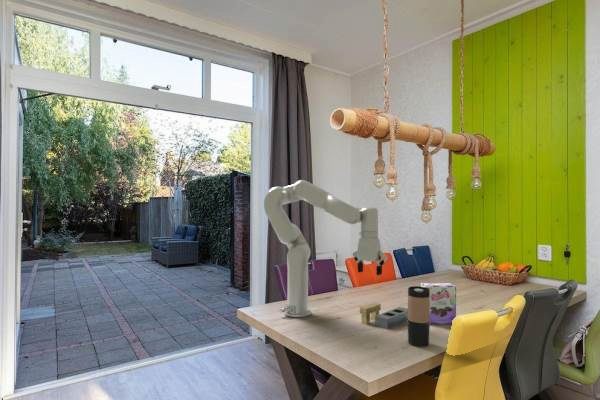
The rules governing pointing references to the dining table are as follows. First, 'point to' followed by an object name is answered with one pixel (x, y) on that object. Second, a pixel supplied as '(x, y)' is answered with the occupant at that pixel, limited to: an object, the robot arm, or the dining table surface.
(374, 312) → the khaki arch block
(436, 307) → the candy box
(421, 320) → the travel mug
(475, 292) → the dining table surface
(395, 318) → the grey cinder block
